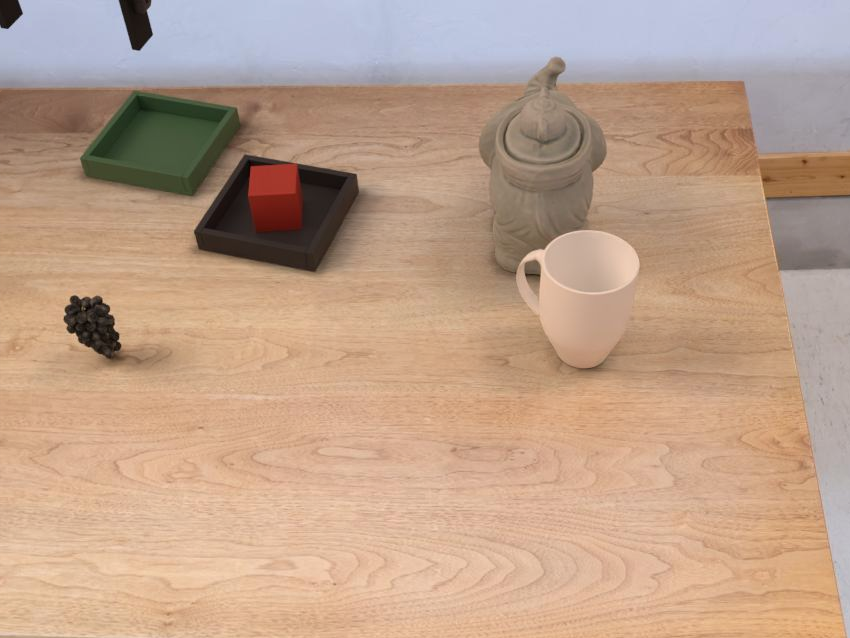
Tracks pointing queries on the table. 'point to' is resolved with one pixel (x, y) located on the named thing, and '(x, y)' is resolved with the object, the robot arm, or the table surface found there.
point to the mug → (583, 293)
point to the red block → (275, 197)
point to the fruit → (92, 324)
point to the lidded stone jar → (539, 168)
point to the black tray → (302, 249)
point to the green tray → (161, 142)
